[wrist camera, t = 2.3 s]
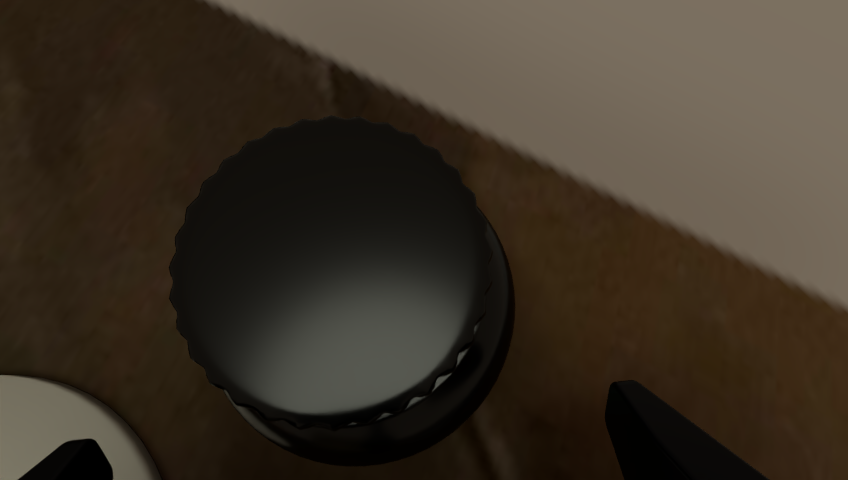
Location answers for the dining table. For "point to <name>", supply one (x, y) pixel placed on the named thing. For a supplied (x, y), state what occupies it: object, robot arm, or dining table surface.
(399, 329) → the supplement bottle
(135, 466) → the cream plate
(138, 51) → the dining table surface
